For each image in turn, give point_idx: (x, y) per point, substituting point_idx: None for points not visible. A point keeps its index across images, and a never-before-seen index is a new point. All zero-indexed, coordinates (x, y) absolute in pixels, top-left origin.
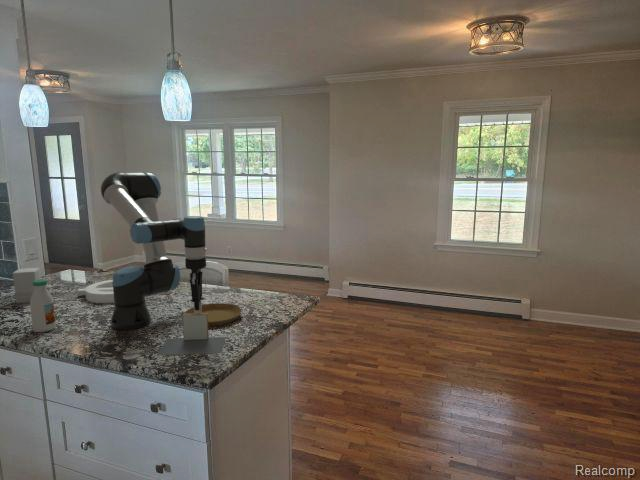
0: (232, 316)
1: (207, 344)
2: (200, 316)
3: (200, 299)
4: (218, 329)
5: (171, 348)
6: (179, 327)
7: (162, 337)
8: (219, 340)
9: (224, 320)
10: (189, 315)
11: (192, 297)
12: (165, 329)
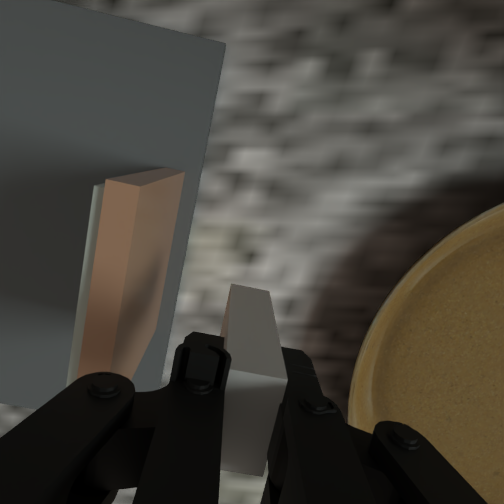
0: (496, 491)
1: (56, 317)
2: (72, 367)
3: (269, 475)
4: None
5: (33, 80)
6: (445, 136)
7: (282, 6)
8: None
9: None
10: (93, 258)
11: (16, 435)
12: (443, 26)
